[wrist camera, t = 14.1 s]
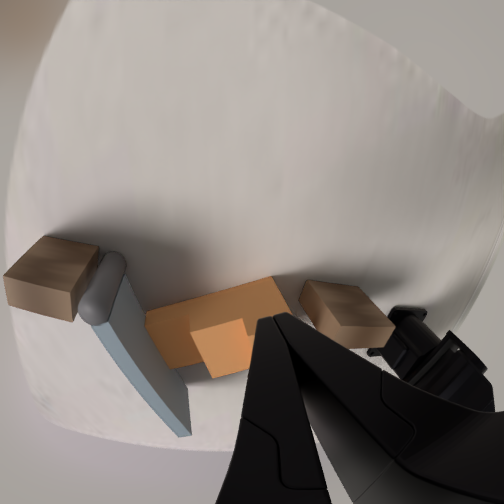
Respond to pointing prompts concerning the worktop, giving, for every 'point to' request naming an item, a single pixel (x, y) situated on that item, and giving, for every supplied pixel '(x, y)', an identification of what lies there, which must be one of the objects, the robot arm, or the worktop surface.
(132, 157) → the worktop surface
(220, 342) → the orange stepped block
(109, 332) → the grey piece
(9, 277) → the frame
